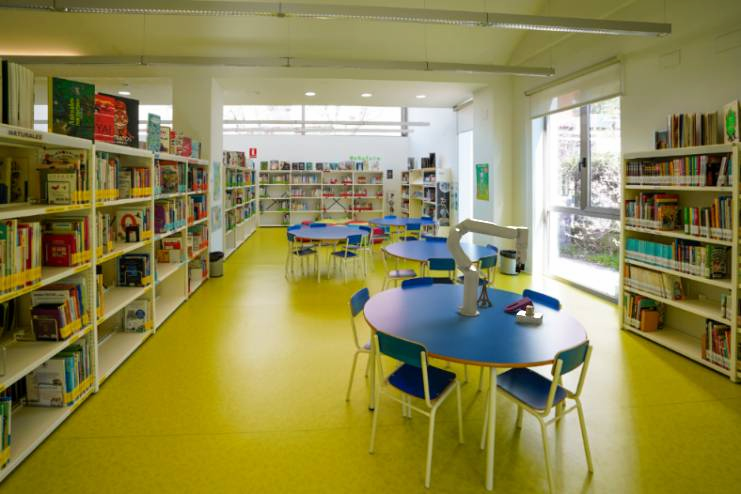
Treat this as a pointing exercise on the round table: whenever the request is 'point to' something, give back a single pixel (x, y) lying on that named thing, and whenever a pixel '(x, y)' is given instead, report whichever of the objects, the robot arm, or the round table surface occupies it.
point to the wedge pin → (530, 310)
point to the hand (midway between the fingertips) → (519, 271)
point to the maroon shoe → (519, 305)
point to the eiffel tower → (484, 292)
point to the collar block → (529, 318)
